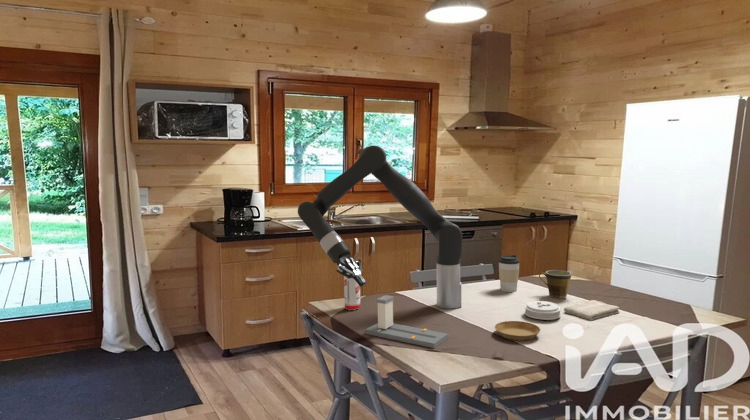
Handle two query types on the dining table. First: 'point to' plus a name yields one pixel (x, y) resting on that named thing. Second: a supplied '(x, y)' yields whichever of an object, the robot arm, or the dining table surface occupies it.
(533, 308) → the lid
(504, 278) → the coffee cup
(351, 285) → the beer can
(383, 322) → the fader tab
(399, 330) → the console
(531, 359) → the dining table surface
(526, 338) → the plant saucer
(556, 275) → the ceramic cup
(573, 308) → the washcloth
